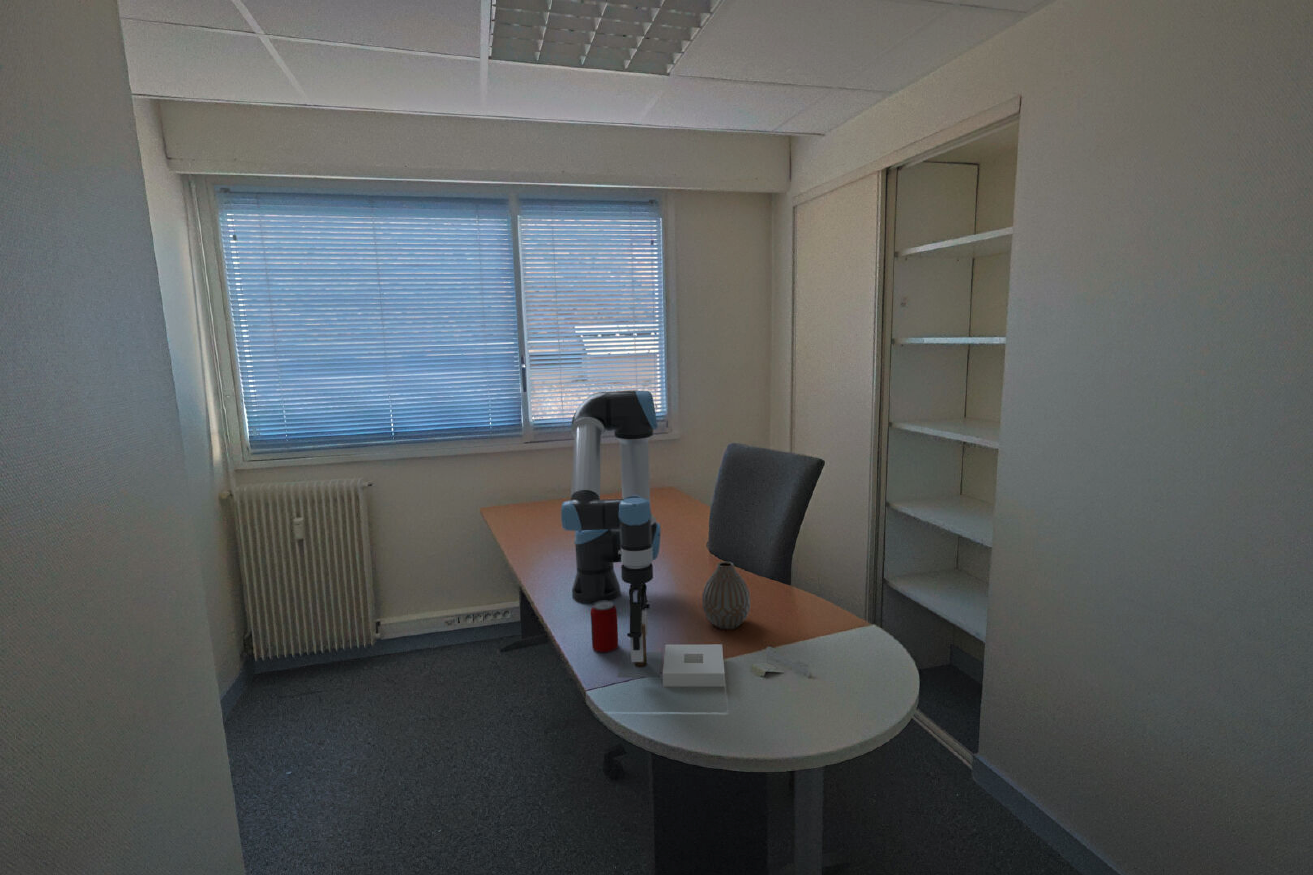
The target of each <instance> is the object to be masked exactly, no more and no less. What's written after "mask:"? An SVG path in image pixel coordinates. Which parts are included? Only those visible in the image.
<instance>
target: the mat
mask: <svg viewBox="0 0 1313 875" xmlns="http://www.w3.org/2000/svg"><path fill="white" fill-rule="evenodd" d="M646 655H647V665H646V666H644V667H636V666H635V663H634V662H632V660H631V651H630V652H627V651H626V652H622V656H621V662H620V664H619V669H618V672H617V673H618V674H617V678H661V669H662V658H663V652H660V651H659V652H650V651H649V652H647V651H646Z"/></svg>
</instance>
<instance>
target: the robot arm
mask: <svg viewBox="0 0 1313 875" xmlns="http://www.w3.org/2000/svg"><path fill="white" fill-rule="evenodd" d="M570 426H571V428H570V429H571V431H570V432H571V434H572V435H573V450H572V451H573V452H572V455H573V456H572V472H571V486H570V487H571V489H570V500H566V501H563V502H562V503H561V507H560V508H561V509H560V520H561V526H562V529H563V530H564V531H567V532H568V531H572V532H574V545H575V562H576V564H575V565H576V572H575V574H576V575H575V577H574V581H573V585H572V587H571V588H572V590H571V593H572V594H571V595H572V598H573V600H575V601H576V602H580V603H582V604H592V605H593V604H594V603H595V602H598V601H603V600H607V601H611V602H612V601H614V600H616V599H617V598H618V597H620V595H621V586H620V583H619V580H618V577H617V575H616V572H615V570H614V567H615V566H614V564H615V563H621V566H620V569H621V580H622V581H623V582H624V583H625V584H630V585H629V588H628V595H629V596H628V597H629V632H628V633H626V634H627V637H629V638H630V652H631V660H632V662H643V636H642V623H644V624H645V631H646V636H648V635H649V632H648V630H649V629H648V610H650V604H649V603H648V599H647V598H648V597H647V596H648V595H647V583H649V582H651V581H652V580H653V578H654V569H653V566H654V565H653V561H655V560H656V559H657V558H658V556H659V553H660V545H661V544H660V542H661V524H660V523H659V522H657V520H656V517H655V516H654V515H653V514H652V510H651V488H650V484H651V482H650V480H651V478H650V453H649V452H650V449H649V440H650V439H651V438H652V437H653V436H654V430H657V429H658V428H659V427H658V421H657V414H656V407H655V403H654V397H653V394H652V393H651V392H650V391H649V390H637V389H633V390H615V391H599V392H595V393H594V394H591V395H589V396H588V397H587V398H586V399H585V400H583V401H582V402H581V403H580V404H579V406H578V407H577V409H576V410H575V412H574V414H573V416H572V419H571V425H570ZM607 431H608V432H609V431H611V432H614V438H616V440H617V441H619V450H620V451H619V452H620V474H621V497H622V498H613V499H601V466H602V464H601V460H602V458H601V457H602V455H601V454H602V452H601V450H602V438H603V437H604V435H605V432H607Z"/></svg>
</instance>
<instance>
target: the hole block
mask: <svg viewBox="0 0 1313 875" xmlns="http://www.w3.org/2000/svg"><path fill="white" fill-rule="evenodd" d="M664 646H665V649H664V656H663V658H664V659H663V667H662V686H663V687H715V688H716V687H721V688H722V687H726V684H725V682H726V678H725V663H724V652H723V651H724V650H723V644H705V643H704V644H665V645H664Z"/></svg>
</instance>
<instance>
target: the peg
mask: <svg viewBox="0 0 1313 875" xmlns="http://www.w3.org/2000/svg"><path fill="white" fill-rule="evenodd" d="M642 636H643V662H634V663H635V666H636V667H644V666H646V665H647V655H646V652H647V635H646V631H645V624H644V623H642Z"/></svg>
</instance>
